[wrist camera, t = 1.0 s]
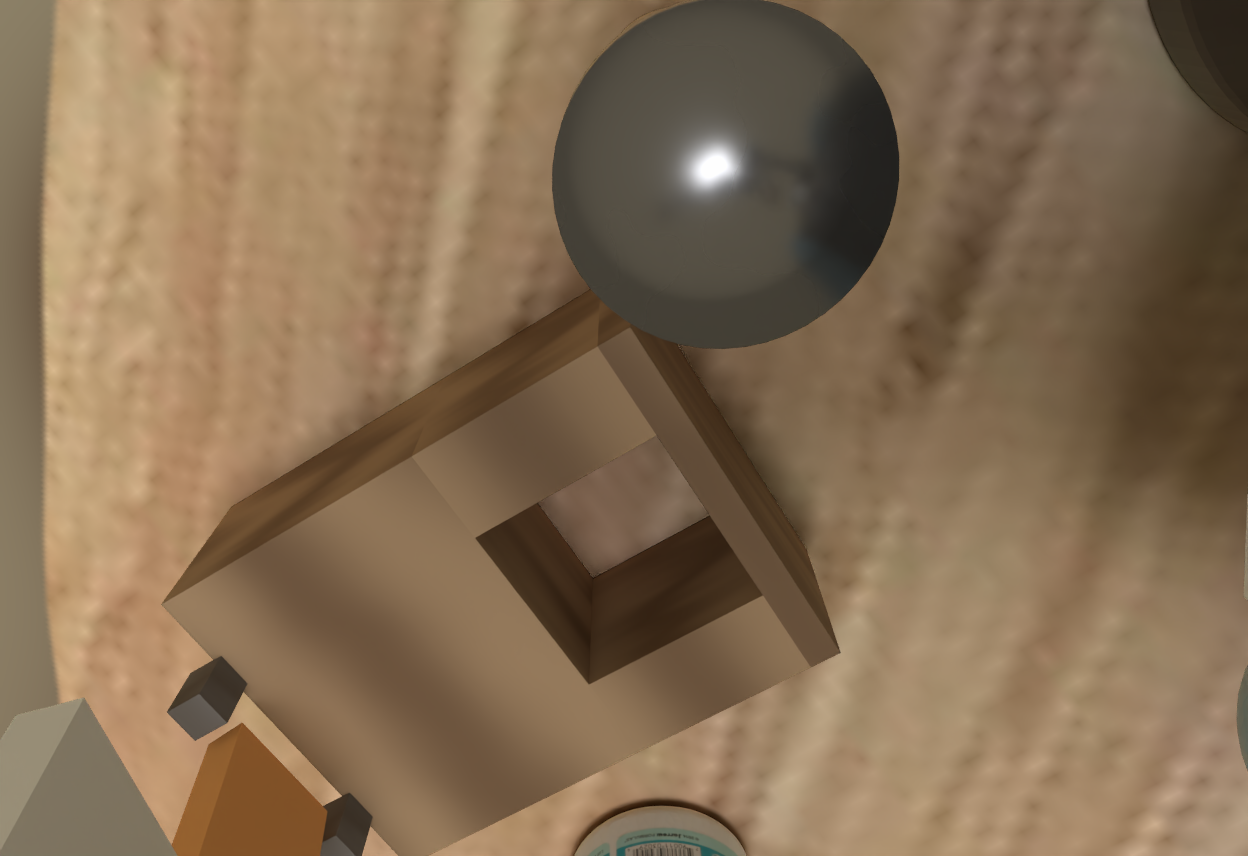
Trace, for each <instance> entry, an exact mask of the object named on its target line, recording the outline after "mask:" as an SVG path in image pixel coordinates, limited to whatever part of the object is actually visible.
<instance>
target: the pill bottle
mask: <svg viewBox="0 0 1248 856" xmlns="http://www.w3.org/2000/svg"><path fill="white" fill-rule="evenodd" d="M574 856H747V855H746V853H745V851H744V849H743V847H742V846H741V844H740V842H739V841H738V840H737V838H736V837H735V836H734V835H733V834H732V833H731V832H730V831H729V830H728V829H727V828H726V827H725V826H723V825H722V824H721V823H719V822H718V821H716V820H714V819H713V818H711V817H709V816H707V815H705V814H702V813H700V812H697V811H694V810H691V809H687V808H682V807H674V806H649V807H642V808H637V809H633V810H630V811H626V812H623V813H621V814H618V815H616V816H614V817H612V818H610V819H608V820H607V821H605V822H604V823H602V824H601V825H599V826H598V827H597V828H595V829H594V830H593V831H592V832H591V833H590V834H589V835H588V836H587V837H586V838H585V839H584V841H583V842H582V843H581V845H580V846H579V848H578V849H577V851H576V853H575V855H574Z"/></svg>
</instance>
